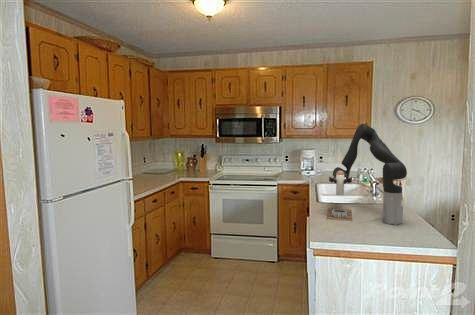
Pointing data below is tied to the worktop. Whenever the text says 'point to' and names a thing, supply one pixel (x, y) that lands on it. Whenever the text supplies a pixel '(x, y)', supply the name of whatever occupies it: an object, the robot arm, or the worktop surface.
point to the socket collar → (339, 213)
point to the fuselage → (340, 183)
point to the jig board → (348, 218)
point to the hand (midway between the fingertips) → (340, 181)
